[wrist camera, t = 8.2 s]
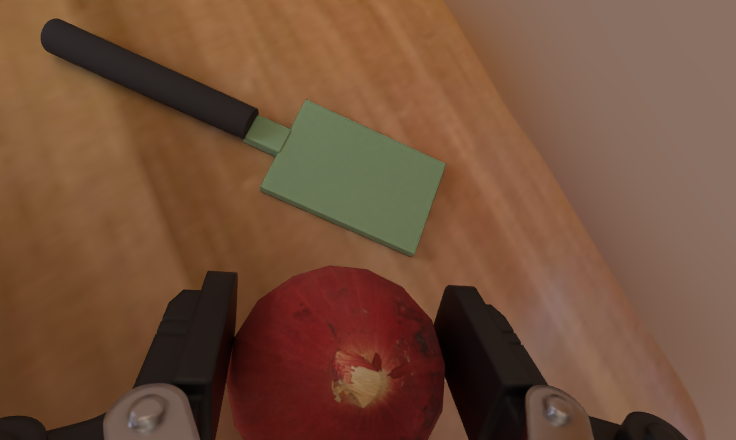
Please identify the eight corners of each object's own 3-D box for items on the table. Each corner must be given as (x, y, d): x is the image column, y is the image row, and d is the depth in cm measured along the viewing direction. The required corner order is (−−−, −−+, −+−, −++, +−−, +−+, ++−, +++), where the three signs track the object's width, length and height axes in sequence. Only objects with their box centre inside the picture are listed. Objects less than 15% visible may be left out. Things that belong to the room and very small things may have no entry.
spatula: (26, 89, 22) (6, 67, 20) (94, 8, 24) (80, -17, 22) (411, 257, 24) (421, 249, 22) (442, 168, 26) (454, 155, 24)
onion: (374, 271, 17) (462, 203, 9) (419, 423, 15) (561, 486, 8) (222, 309, 15) (180, 266, 8) (257, 484, 14) (247, 638, 6)
